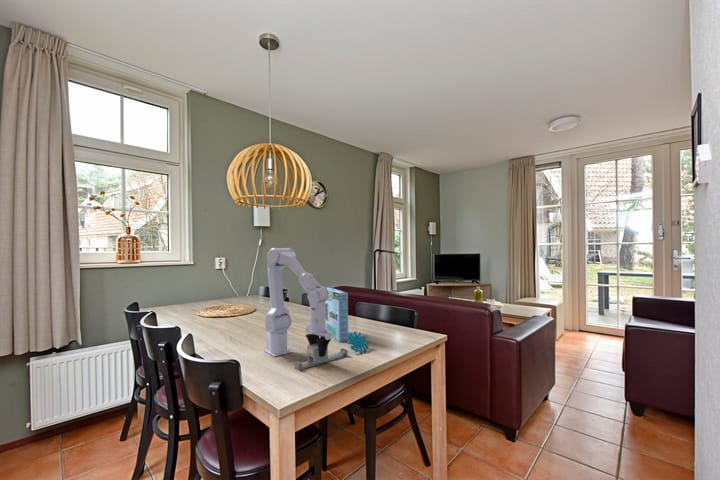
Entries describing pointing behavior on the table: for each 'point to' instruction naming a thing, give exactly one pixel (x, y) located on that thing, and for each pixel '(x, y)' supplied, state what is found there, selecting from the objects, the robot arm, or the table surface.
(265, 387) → the table surface
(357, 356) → the table surface
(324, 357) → the block
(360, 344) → the gear
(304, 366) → the rail
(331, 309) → the gum box
